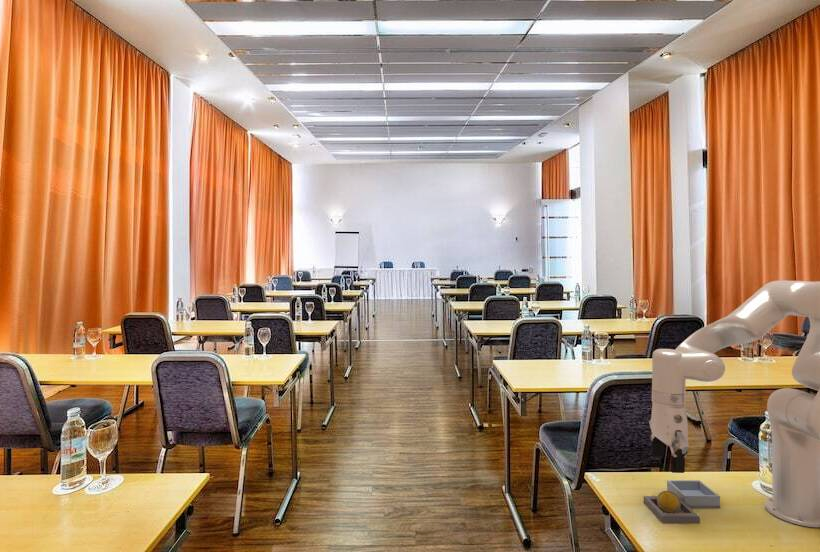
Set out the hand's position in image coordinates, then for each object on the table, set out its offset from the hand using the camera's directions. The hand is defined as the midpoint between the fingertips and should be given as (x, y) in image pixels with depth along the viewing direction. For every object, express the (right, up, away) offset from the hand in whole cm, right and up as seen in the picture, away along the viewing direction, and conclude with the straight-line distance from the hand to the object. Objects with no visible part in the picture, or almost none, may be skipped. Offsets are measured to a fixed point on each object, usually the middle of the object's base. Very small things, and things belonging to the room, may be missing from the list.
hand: (667, 463), depth 117 cm
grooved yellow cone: (+1, -13, 0) cm, 13 cm away
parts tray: (+11, -12, +7) cm, 18 cm away
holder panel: (+1, -13, 0) cm, 13 cm away
